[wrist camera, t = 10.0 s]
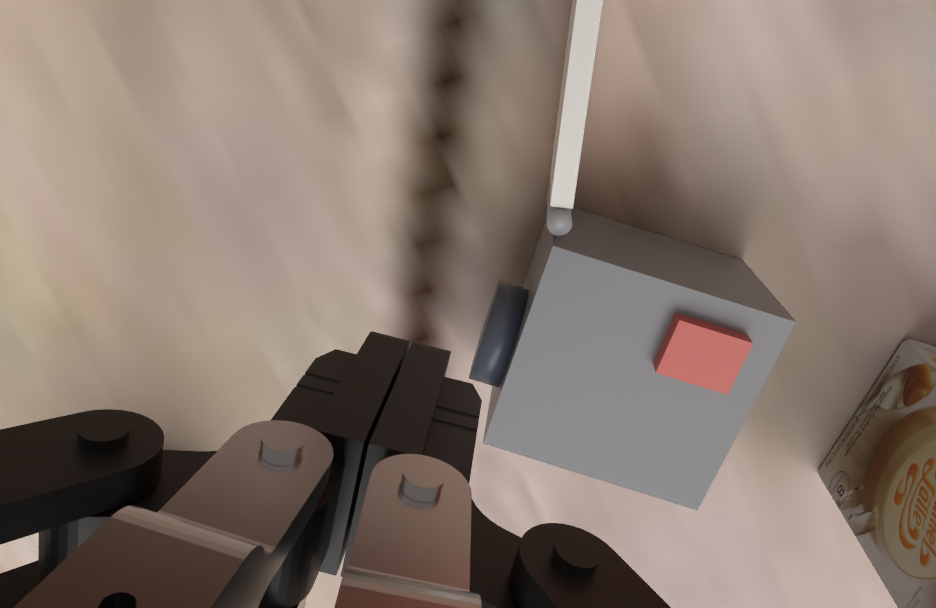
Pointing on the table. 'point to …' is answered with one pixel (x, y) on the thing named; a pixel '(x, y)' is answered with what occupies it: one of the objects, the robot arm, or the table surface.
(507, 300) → the block
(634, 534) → the table surface
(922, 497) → the coffee box
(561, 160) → the side door
